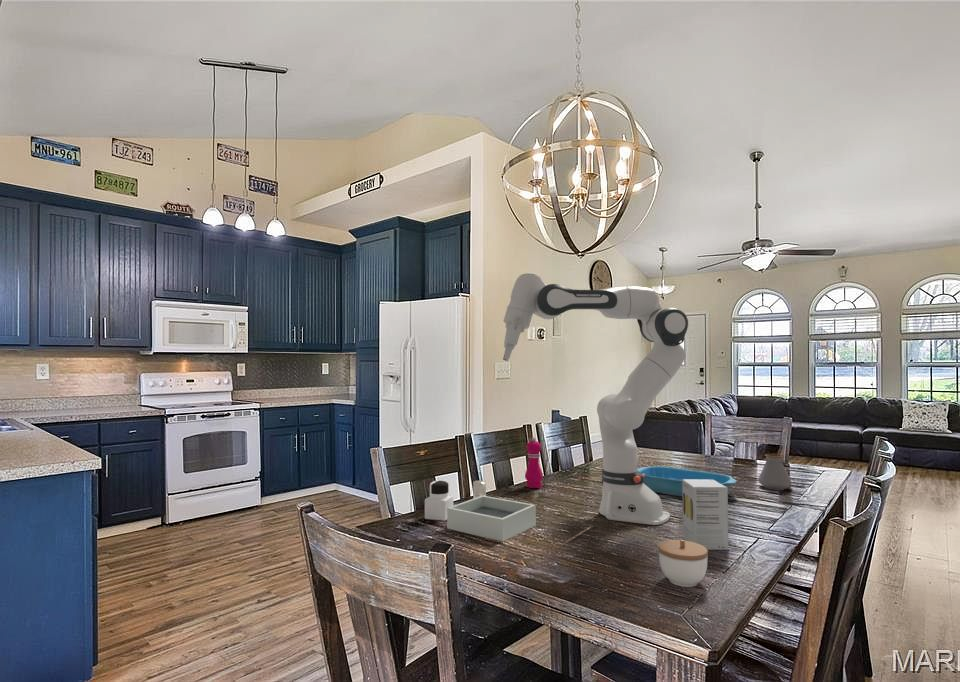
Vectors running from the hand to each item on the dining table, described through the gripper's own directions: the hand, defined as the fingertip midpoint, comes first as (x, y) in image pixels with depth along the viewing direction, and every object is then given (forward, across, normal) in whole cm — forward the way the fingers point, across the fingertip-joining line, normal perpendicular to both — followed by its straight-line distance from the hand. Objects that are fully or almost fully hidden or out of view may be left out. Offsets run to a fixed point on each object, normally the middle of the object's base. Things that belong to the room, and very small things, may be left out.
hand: (505, 359), depth 176 cm
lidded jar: (+41, -49, -52) cm, 83 cm away
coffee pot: (+15, +43, -120) cm, 128 cm away
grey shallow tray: (+50, -12, -10) cm, 53 cm away
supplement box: (+35, -24, -66) cm, 79 cm away
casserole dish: (+28, +34, -81) cm, 92 cm away
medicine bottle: (+56, -1, +6) cm, 56 cm away
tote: (+51, -12, -10) cm, 54 cm away
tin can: (+51, +12, -6) cm, 53 cm away
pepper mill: (+43, +42, -26) cm, 66 cm away
